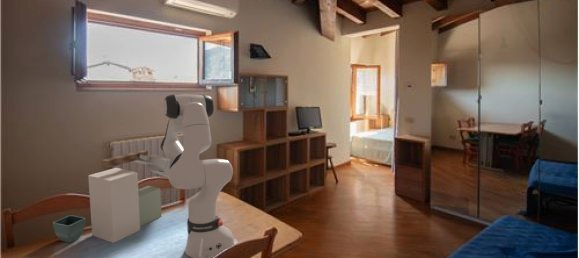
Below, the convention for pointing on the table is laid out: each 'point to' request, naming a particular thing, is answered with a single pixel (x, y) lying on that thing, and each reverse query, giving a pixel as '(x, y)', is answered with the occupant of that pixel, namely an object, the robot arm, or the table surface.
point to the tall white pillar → (114, 204)
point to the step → (149, 204)
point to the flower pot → (69, 228)
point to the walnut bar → (123, 159)
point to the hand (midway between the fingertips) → (135, 155)
